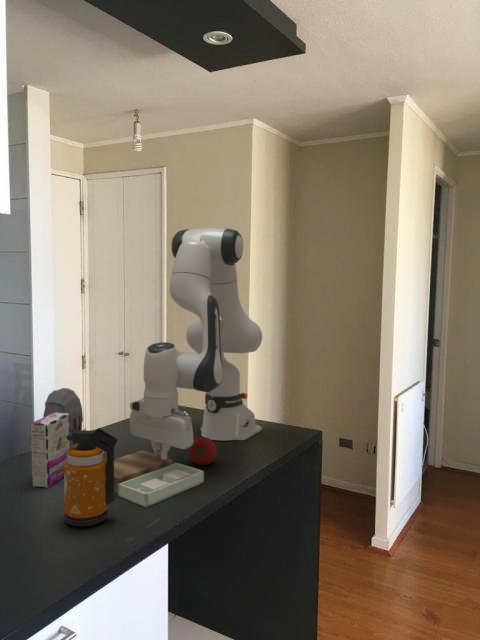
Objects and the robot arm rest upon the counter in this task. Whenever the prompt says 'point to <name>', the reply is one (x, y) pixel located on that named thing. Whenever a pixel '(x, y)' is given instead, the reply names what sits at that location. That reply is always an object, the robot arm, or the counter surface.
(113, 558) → the counter surface
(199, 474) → the tray
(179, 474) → the tile
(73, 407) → the small grey backpack
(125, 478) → the board
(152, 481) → the tile
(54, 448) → the candy bar box
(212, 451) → the tomato
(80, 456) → the canister
